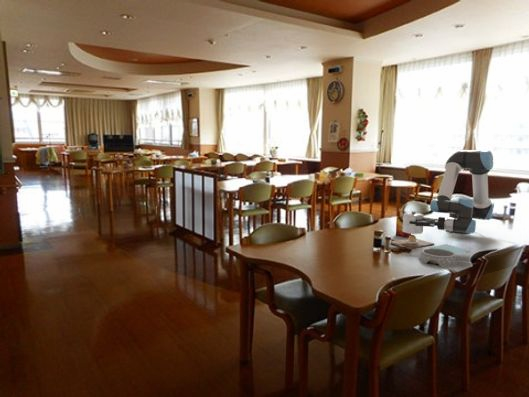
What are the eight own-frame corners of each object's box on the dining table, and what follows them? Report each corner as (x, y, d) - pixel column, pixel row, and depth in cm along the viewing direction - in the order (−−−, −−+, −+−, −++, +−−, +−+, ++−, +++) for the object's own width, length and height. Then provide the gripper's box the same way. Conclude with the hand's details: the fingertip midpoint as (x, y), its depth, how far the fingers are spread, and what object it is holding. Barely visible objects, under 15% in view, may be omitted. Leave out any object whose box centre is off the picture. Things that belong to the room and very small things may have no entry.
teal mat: (445, 244, 234) (446, 244, 234) (470, 251, 220) (470, 250, 220) (427, 248, 227) (427, 247, 227) (451, 255, 213) (451, 254, 213)
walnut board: (413, 240, 246) (413, 237, 246) (434, 245, 232) (434, 243, 232) (390, 243, 237) (390, 241, 237) (410, 250, 223) (410, 247, 223)
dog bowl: (424, 255, 214) (425, 245, 214) (460, 261, 203) (461, 251, 202) (414, 262, 201) (415, 252, 200) (452, 269, 190) (453, 259, 189)
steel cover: (405, 229, 241) (406, 209, 239) (423, 231, 235) (425, 210, 233) (401, 232, 232) (402, 211, 230) (420, 234, 226) (421, 213, 224)
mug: (410, 239, 248) (411, 221, 246) (392, 235, 259) (393, 217, 258) (419, 237, 253) (420, 219, 251) (401, 233, 265) (402, 216, 263)
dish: (411, 240, 239) (412, 233, 238) (420, 243, 233) (421, 235, 232) (403, 241, 236) (403, 234, 235) (412, 244, 230) (413, 236, 229)
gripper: (441, 234, 213) (401, 229, 225) (447, 226, 233) (410, 222, 245) (442, 220, 212) (402, 216, 224) (448, 214, 232) (410, 211, 244)
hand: (406, 219), depth 234 cm, fingers closed on steel cover, 11 cm apart
